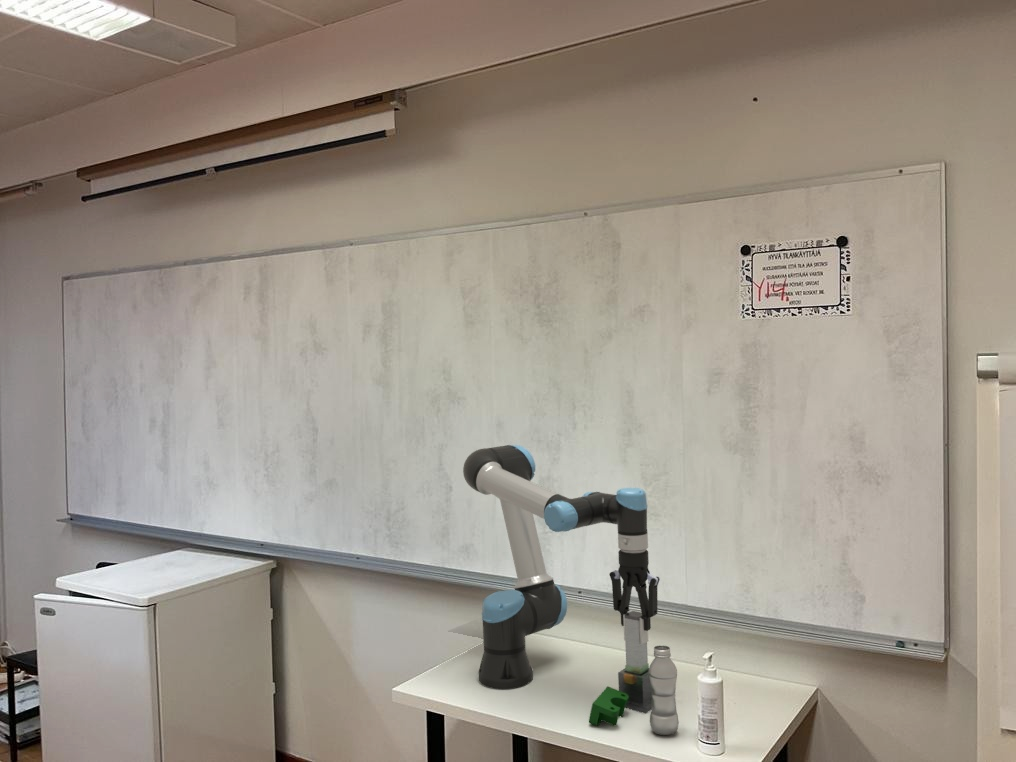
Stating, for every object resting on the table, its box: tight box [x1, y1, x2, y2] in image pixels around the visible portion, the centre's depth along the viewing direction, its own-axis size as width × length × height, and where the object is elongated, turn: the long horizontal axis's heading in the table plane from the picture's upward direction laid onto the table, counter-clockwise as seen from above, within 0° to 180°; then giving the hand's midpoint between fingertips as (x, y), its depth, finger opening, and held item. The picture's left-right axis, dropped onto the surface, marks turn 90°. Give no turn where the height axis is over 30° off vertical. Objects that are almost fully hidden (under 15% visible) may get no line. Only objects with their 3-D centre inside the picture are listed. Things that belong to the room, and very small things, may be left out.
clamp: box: [588, 686, 629, 727], centre depth 202 cm, size 12×6×9 cm, turn 149°
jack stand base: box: [617, 668, 652, 714], centre depth 211 cm, size 10×10×8 cm
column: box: [624, 610, 650, 676], centre depth 211 cm, size 4×4×15 cm
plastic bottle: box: [649, 644, 680, 736], centre depth 193 cm, size 6×7×20 cm
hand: (636, 640), depth 211 cm, fingers closed on column, 4 cm apart
